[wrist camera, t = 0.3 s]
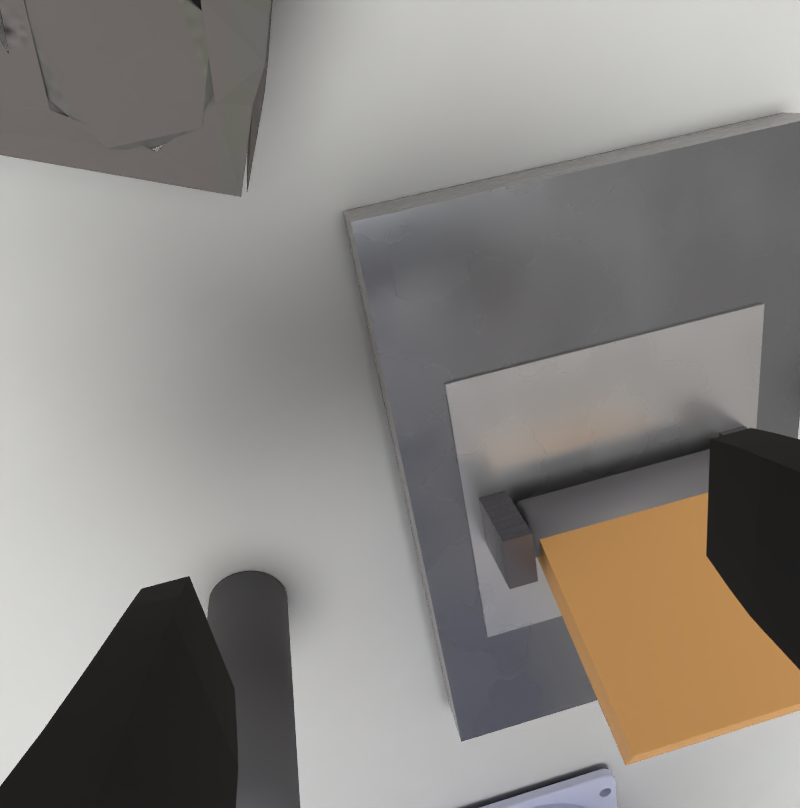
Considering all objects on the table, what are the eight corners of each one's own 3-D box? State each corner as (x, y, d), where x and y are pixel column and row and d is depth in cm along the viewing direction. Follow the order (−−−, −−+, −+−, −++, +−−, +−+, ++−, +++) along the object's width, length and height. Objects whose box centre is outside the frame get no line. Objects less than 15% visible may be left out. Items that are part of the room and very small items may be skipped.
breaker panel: (748, 614, 26) (823, 693, 22) (449, 704, 25) (480, 801, 21) (783, 113, 18) (907, 116, 14) (343, 211, 17) (365, 240, 13)
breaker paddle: (708, 465, 20) (861, 692, 16) (514, 518, 20) (619, 769, 15) (724, 434, 19) (893, 672, 15) (517, 490, 18) (632, 754, 14)
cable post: (295, 619, 22) (311, 832, 15) (221, 640, 21) (208, 865, 15) (275, 562, 21) (284, 765, 14) (198, 583, 20) (172, 799, 14)
